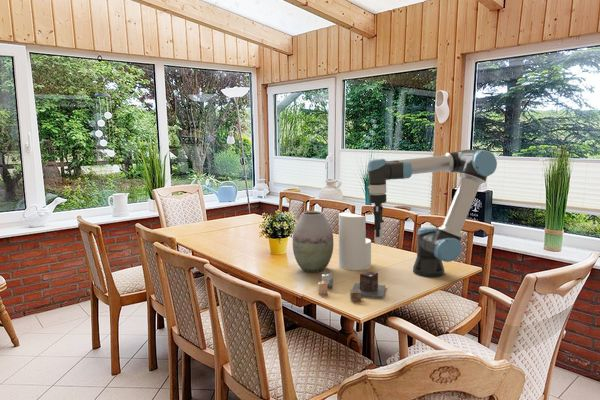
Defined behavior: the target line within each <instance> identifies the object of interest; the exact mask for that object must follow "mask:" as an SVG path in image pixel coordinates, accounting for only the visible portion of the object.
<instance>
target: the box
mask: <svg viewBox="0 0 600 400" xmlns="http://www.w3.org/2000/svg"><path fill="white" fill-rule="evenodd" d="M359 283H360V290H364V291H368V292H373V291H374V290H376V289H378V285H379V273H378V272H376V271H370V270H365V271H363V272H362V273H361V272H360V273H359Z"/></svg>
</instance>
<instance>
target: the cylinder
mask: <svg viewBox="0 0 600 400" xmlns="http://www.w3.org/2000/svg"><path fill="white" fill-rule="evenodd" d="M366 234H367V233H366V215H365V216H364V215H361V214H356V213H351V212H345V211H343V212H339V213H338V267H339V268H340V269H342V270H343V269H344V270H347V271H364V270H365V271H366V270H368V269H370V268H371V266H372V240H371V239H370V238H367V237H366V236H367V235H366Z"/></svg>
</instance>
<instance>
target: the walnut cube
mask: <svg viewBox="0 0 600 400" xmlns="http://www.w3.org/2000/svg"><path fill="white" fill-rule="evenodd" d="M349 298H350V302H351V303H361V302H362V297H361V291H360V289H352V288H351V289H350V293H349Z"/></svg>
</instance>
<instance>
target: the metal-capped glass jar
mask: <svg viewBox="0 0 600 400" xmlns="http://www.w3.org/2000/svg"><path fill="white" fill-rule="evenodd" d="M333 275H334V274H333V273H331V272H323V273H321V281H325V282H327V290H330V289H333V288H334V285H333V281H334V280H333V279H334V277H333Z"/></svg>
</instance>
